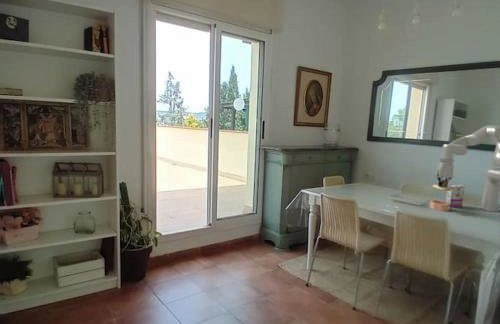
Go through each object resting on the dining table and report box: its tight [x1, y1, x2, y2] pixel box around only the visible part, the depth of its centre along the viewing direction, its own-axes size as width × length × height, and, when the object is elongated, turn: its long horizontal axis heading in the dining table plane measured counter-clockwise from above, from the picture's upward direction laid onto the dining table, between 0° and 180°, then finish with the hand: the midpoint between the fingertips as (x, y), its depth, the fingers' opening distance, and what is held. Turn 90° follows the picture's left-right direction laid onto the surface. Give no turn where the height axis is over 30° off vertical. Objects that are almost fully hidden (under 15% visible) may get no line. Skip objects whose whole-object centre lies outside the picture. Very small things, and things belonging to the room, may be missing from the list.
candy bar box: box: [445, 184, 465, 208], centre depth 241 cm, size 11×5×16 cm, turn 105°
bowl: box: [428, 199, 451, 212], centre depth 233 cm, size 12×12×5 cm
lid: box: [431, 179, 454, 192], centre depth 231 cm, size 14×14×6 cm
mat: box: [452, 210, 478, 217], centre depth 224 cm, size 11×11×1 cm
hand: (442, 186), depth 231 cm, fingers closed on lid, 3 cm apart
